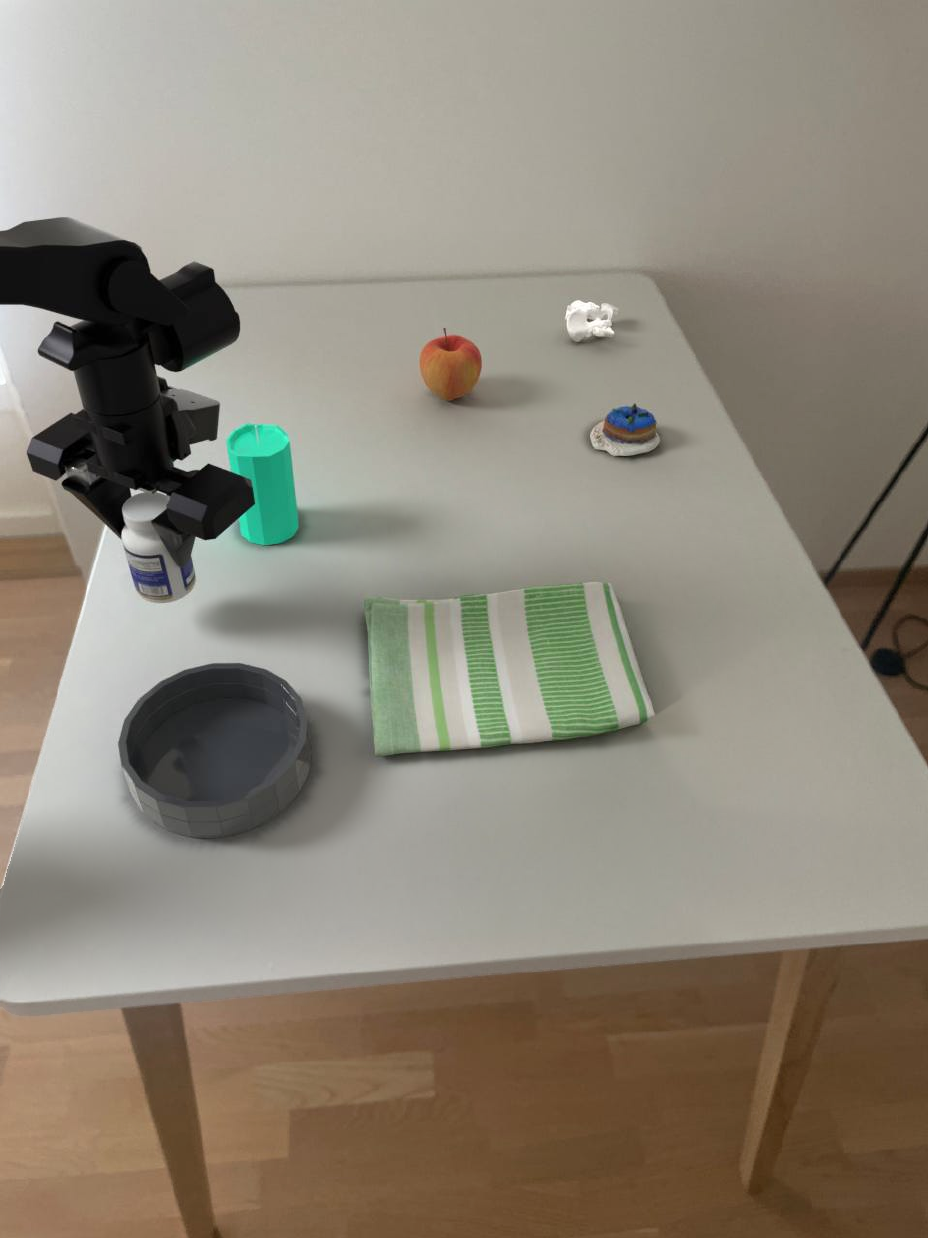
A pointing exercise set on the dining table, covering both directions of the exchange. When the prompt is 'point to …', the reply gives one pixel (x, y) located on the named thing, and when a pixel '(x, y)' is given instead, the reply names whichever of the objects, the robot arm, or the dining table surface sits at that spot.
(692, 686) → the dining table surface
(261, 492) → the candle
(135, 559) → the pill bottle
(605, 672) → the dish towel
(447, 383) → the apple
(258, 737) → the pan
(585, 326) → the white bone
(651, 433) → the dessert
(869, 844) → the dining table surface
